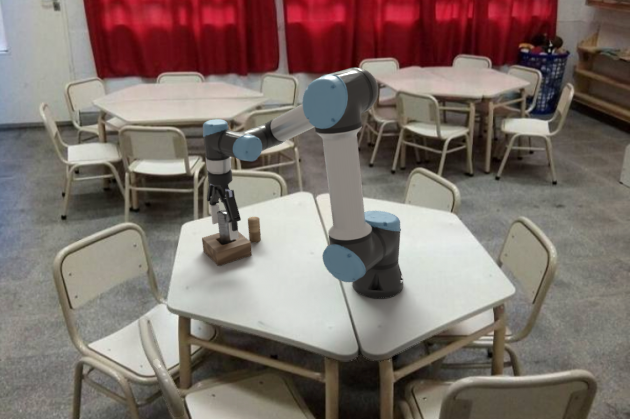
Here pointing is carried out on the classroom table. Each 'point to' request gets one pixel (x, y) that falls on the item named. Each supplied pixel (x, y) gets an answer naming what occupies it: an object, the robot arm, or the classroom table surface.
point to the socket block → (226, 249)
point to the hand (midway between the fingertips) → (225, 230)
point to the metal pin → (223, 227)
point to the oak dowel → (254, 229)
